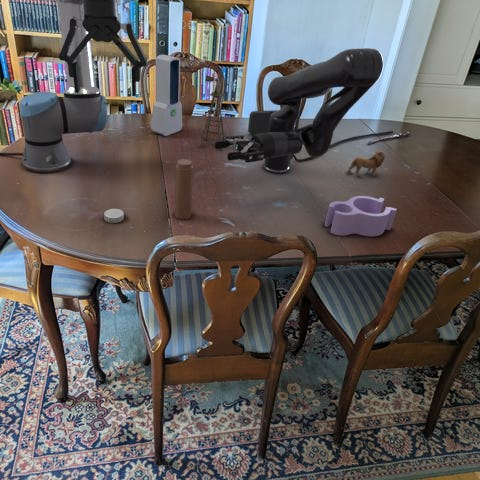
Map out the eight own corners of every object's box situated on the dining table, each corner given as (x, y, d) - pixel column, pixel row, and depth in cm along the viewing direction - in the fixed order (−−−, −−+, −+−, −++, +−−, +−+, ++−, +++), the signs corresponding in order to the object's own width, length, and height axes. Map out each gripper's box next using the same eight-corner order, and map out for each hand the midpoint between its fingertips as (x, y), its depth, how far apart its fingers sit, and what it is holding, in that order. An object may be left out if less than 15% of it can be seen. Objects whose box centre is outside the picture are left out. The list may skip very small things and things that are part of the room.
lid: (113, 211, 137) (113, 206, 137) (128, 217, 135) (127, 212, 134) (100, 218, 133) (99, 213, 132) (114, 225, 131) (114, 220, 130)
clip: (337, 240, 135) (342, 219, 131) (318, 218, 145) (322, 198, 141) (395, 233, 141) (402, 213, 137) (373, 213, 151) (378, 194, 147)
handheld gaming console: (295, 131, 210) (298, 109, 204) (297, 134, 208) (301, 111, 202) (247, 133, 203) (249, 110, 197) (249, 135, 201) (251, 112, 195)
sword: (406, 132, 223) (406, 130, 222) (411, 134, 221) (412, 132, 220) (362, 144, 207) (363, 141, 206) (368, 146, 205) (368, 143, 204)
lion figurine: (375, 170, 181) (381, 148, 176) (383, 176, 177) (389, 153, 172) (342, 172, 176) (348, 150, 171) (350, 178, 172) (355, 156, 167)
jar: (175, 219, 137) (176, 165, 127) (174, 211, 141) (175, 158, 131) (192, 219, 138) (194, 165, 128) (190, 211, 142) (192, 158, 132)
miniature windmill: (220, 150, 184) (225, 71, 167) (199, 146, 185) (203, 68, 168) (225, 142, 191) (231, 66, 175) (205, 139, 192) (209, 63, 176)
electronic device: (164, 137, 190) (164, 60, 174) (149, 132, 193) (148, 56, 177) (182, 129, 199) (184, 56, 183) (169, 125, 202) (169, 52, 186)
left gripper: (36, -7, 99) (49, 93, 110) (155, 4, 102) (156, 100, 114) (45, -11, 105) (57, 85, 117) (157, -1, 108) (158, 91, 120)
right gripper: (259, 125, 144) (211, 129, 137) (283, 142, 133) (233, 147, 126) (256, 148, 148) (210, 153, 141) (280, 166, 137) (231, 173, 130)
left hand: (106, 93), depth 115 cm, fingers open, 13 cm apart
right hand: (221, 150), depth 134 cm, fingers open, 8 cm apart
